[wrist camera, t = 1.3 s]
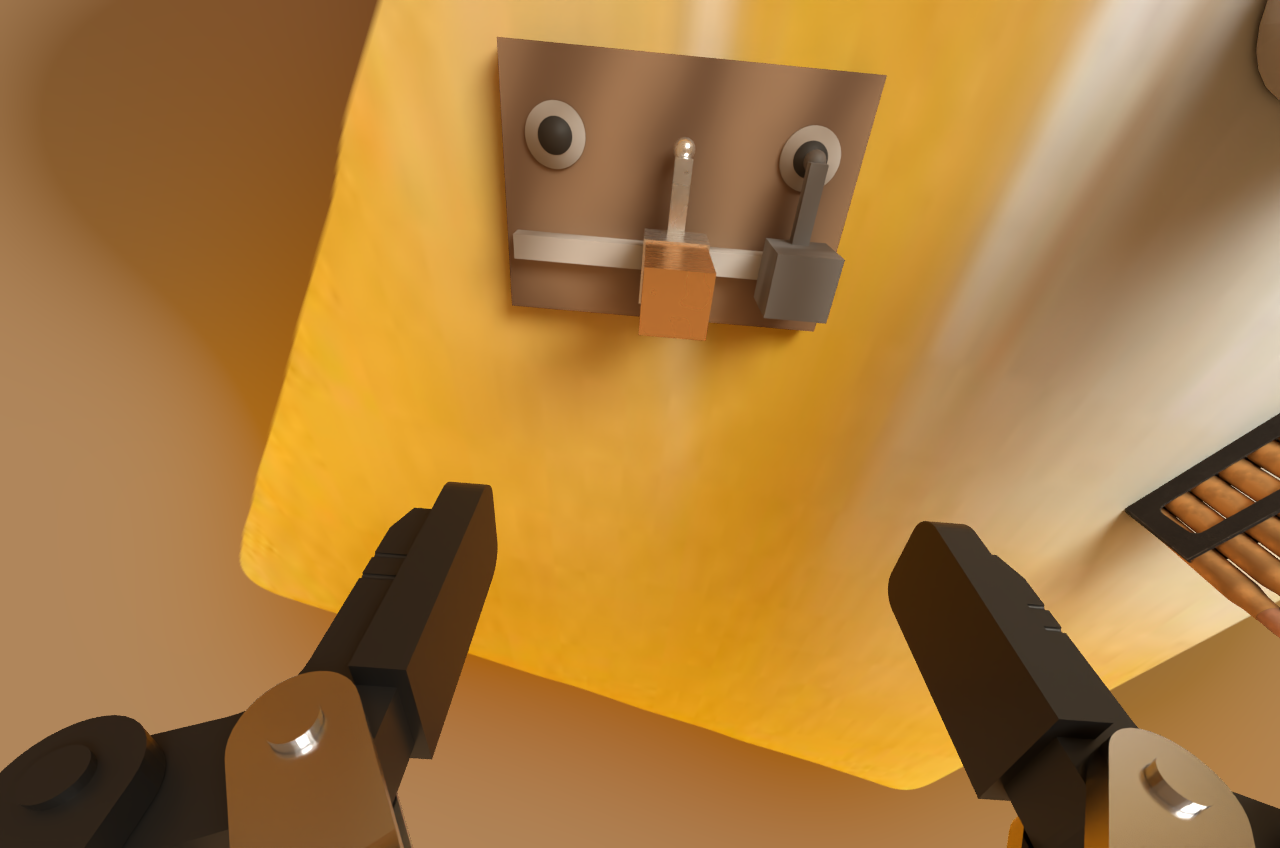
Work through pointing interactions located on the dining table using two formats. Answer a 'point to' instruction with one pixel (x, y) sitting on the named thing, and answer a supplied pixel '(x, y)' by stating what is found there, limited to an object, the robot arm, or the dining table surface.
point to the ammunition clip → (1226, 520)
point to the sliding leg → (676, 266)
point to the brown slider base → (643, 172)
